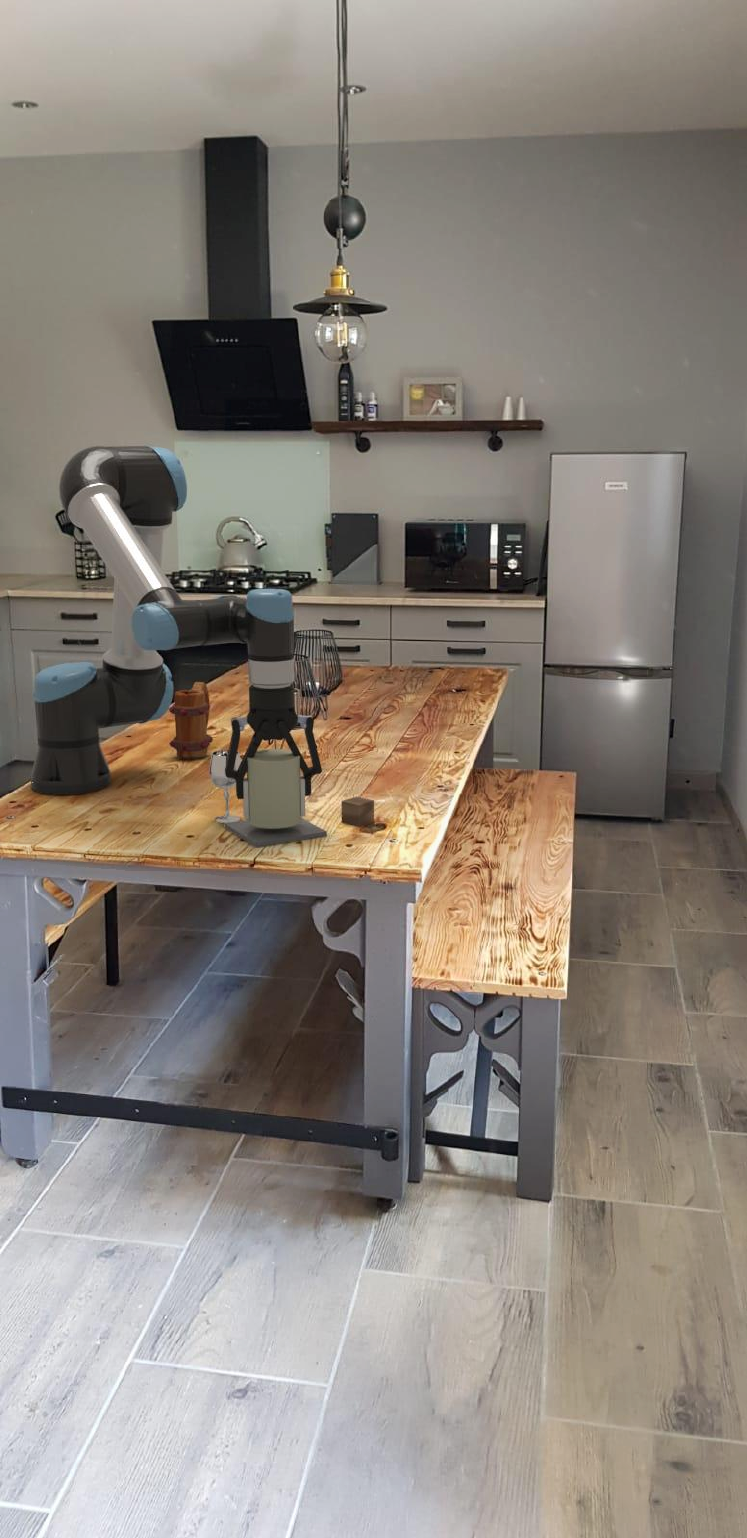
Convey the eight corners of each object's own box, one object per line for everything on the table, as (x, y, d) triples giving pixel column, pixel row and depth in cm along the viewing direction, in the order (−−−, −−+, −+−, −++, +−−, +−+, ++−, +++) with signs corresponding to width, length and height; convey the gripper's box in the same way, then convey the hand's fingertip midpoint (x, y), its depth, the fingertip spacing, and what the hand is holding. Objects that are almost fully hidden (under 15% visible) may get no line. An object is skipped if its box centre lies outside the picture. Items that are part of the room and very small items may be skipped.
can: (273, 810, 214) (272, 743, 211) (312, 820, 208) (312, 751, 205) (235, 822, 207) (233, 753, 204) (275, 832, 201) (273, 761, 198)
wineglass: (245, 814, 218) (243, 749, 215) (242, 823, 213) (240, 756, 210) (212, 815, 218) (210, 749, 215) (209, 824, 212) (207, 757, 209)
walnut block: (358, 827, 211) (358, 805, 210) (341, 823, 213) (341, 801, 212) (374, 822, 214) (374, 800, 213) (356, 818, 216) (356, 796, 215)
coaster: (255, 847, 199) (255, 842, 199) (224, 827, 210) (224, 823, 210) (326, 835, 206) (326, 831, 205) (292, 817, 216) (292, 812, 216)
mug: (202, 762, 256) (200, 692, 253) (165, 761, 258) (162, 690, 254) (224, 747, 270) (222, 680, 267) (189, 746, 272) (187, 679, 268)
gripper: (333, 678, 207) (334, 806, 213) (204, 682, 204) (209, 812, 209) (339, 686, 200) (340, 818, 205) (206, 690, 196) (211, 825, 202)
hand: (274, 815), depth 207 cm, fingers closed on can, 9 cm apart
